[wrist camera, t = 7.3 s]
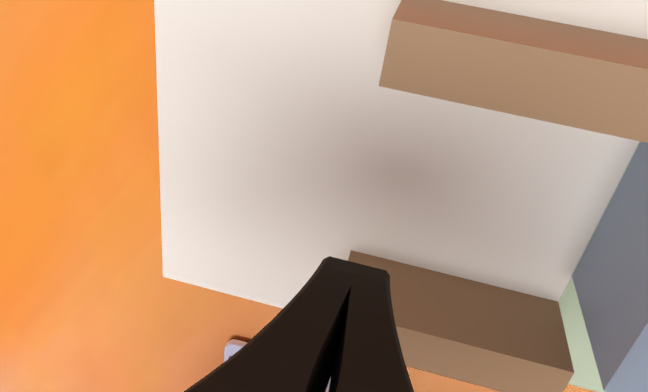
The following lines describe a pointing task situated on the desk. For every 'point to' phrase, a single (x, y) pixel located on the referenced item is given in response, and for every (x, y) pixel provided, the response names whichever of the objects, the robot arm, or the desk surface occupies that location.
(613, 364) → the block
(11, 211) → the desk surface
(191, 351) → the desk surface
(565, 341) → the deck
